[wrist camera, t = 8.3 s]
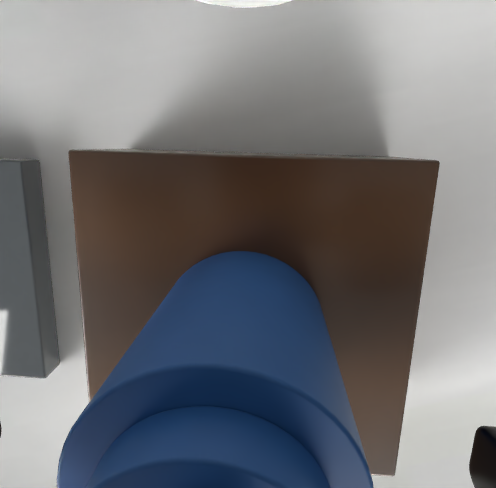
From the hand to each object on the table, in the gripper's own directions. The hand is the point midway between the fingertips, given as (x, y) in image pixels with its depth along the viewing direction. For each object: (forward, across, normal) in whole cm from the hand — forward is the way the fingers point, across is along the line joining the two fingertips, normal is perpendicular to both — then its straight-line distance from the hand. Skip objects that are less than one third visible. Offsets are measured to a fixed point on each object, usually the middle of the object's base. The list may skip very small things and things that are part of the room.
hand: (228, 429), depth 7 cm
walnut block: (+9, 0, 0) cm, 9 cm away
